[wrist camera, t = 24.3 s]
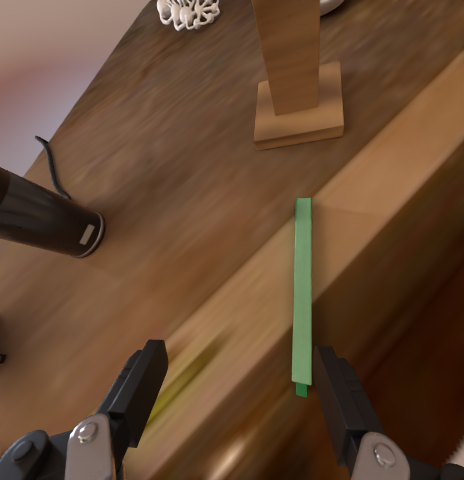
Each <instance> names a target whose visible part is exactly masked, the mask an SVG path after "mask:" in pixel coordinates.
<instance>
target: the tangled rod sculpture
mask: <svg viewBox="0 0 464 480" xmlns="http://www.w3.org/2000/svg"><path fill="white" fill-rule="evenodd" d="M204 1H205V2H204V3H203V4H202V5H201V6H200V4H201V3H202V2H203V0H192V2H189V1H188V0H178V2H179V5H180V6H179V5H177V4H176V3H175V2H174V0H172V3H174V4H172V3H171V2H170V0H158V2H157V8H158V11H159V13H160V19H161V21H162V23H164V24H166V25H168V24H170V23H171V22H172V20H173V21H174V26H175V28H176V29H177V31H180V30H181V29H183V28H184V27H185V26H186V27H187V29H193V28H194V27H195V28H196V29H199V28H200V27H201V25H205V24H207V23H213V21H214V17H215V16H217V15H218V14H219V13H220V11H219V9H218V3H219V0H217V3H213V4H212V2H213V0H204ZM194 2H195V3H196V5H195V11H193V12H192V10H191V9H192V7H193V4H194ZM187 3H189V6H190V7H186V6H185V5H186V4H187ZM207 4H208V5H211V4H212V5H211V7H205V6H206V5H207ZM181 5H184V7H181ZM204 7H205V8H204ZM209 10H212V12H213V13H214V14H212V13H208V14H206V13H204V11H209ZM171 14H172V16H171ZM195 14H196V15H197V19H195V20H194V15H195ZM170 16H171V17H170ZM203 16H204V17H205V18H207V21H206V22H200V18H202V17H203ZM163 17H164V18H169V17H170V18H169V19H168V21H165V20H164V19H163ZM193 20H194V22H193ZM180 21H181V22H182V24H181V25H180V26H179V27H178V26H177V24H178V23H179V22H180ZM192 23H193V24H194V25H193V26H191V25H192ZM188 26H191V27H188Z"/></svg>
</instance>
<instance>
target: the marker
mask: <svg viewBox="0 0 464 480" xmlns="http://www.w3.org/2000/svg"><path fill="white" fill-rule="evenodd" d="M295 222H296V227H295V269H294V310H293V352H292V381H294V382H296V395H298V396H302V397H306V398H307V385H311V382H312V198H301V199H296V210H295Z"/></svg>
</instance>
